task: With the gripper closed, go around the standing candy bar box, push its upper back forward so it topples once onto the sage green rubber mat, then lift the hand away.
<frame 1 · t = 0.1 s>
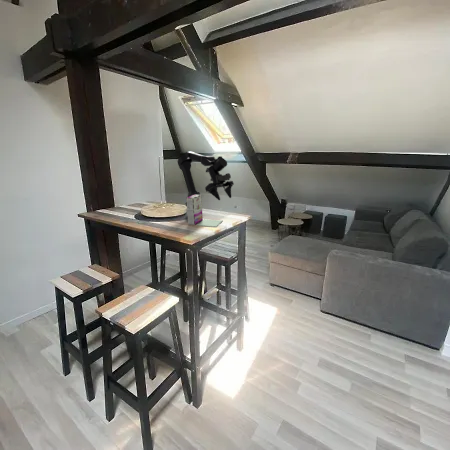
hand: (225, 198, 142), 15 cm above the table, tool tilted 35°, fingers open, 9 cm apart
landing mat: (210, 223, 146), on the table
candy bar box: (195, 222, 148), on the table
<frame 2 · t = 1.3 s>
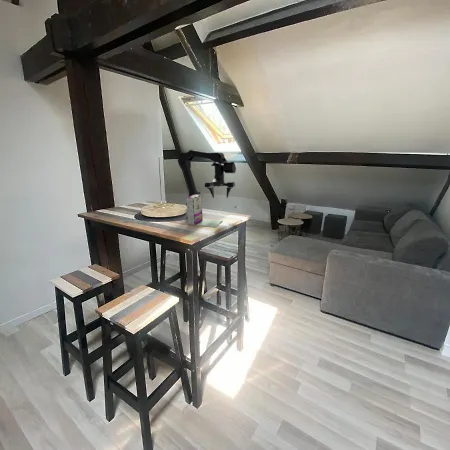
hand: (220, 197, 156), 13 cm above the table, tool pointing down, fingers open, 9 cm apart
nothing on the table moved.
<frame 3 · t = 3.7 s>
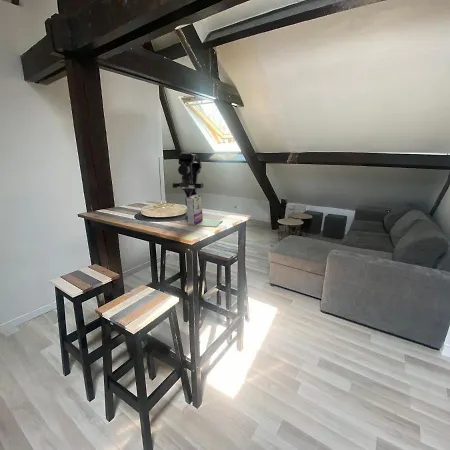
hand: (188, 199, 152), 13 cm above the table, tool pointing down, fingers closed
nothing on the table moved.
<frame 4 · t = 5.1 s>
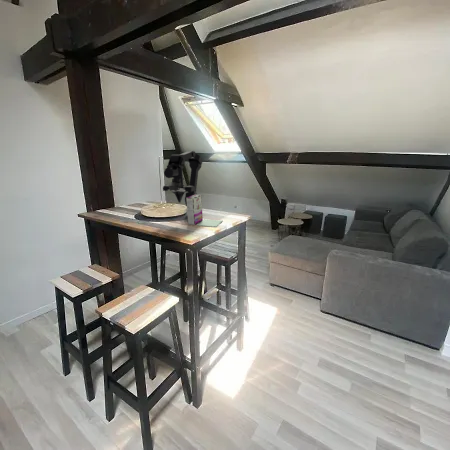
hand: (179, 202, 147), 12 cm above the table, tool pointing down, fingers closed
nothing on the table moved.
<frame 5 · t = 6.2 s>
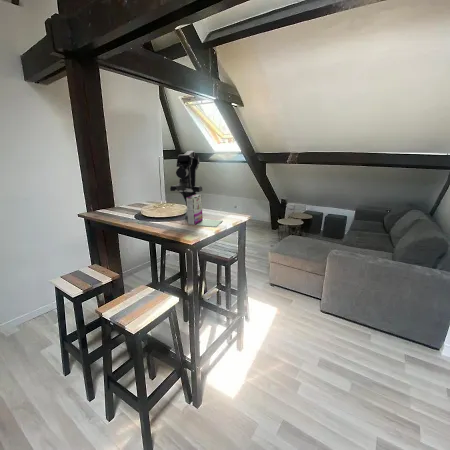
hand: (186, 202, 146), 12 cm above the table, tool pointing down, fingers closed
candy bar box: (195, 222, 148), on the table, touching gripper
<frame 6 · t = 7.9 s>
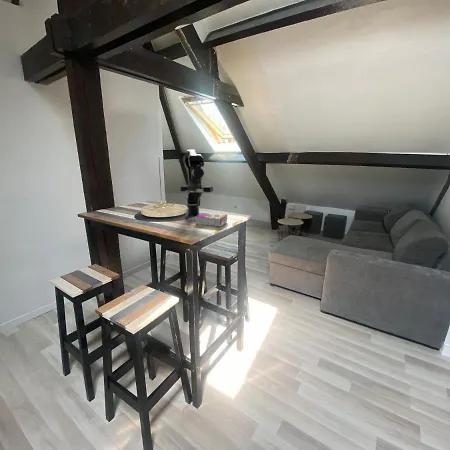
hand: (197, 203, 144), 12 cm above the table, tool pointing down, fingers closed
candy bar box: (198, 218, 147), point 3 cm above the table, touching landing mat
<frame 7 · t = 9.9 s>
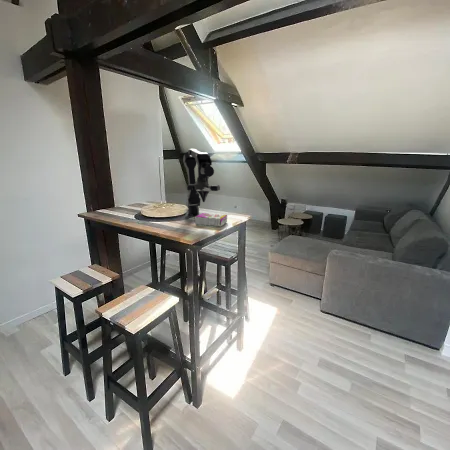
hand: (203, 202, 143), 13 cm above the table, tool pointing down, fingers closed
nothing on the table moved.
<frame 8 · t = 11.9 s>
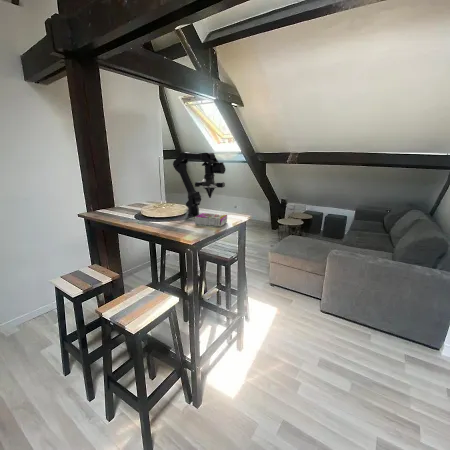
hand: (210, 197, 156), 13 cm above the table, tool pointing down, fingers closed
nothing on the table moved.
at the end: candy bar box tilted 91°; candy bar box inside the target area (1.2 cm from its centre), point 2.9 cm above the table; candy bar box touching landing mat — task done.
